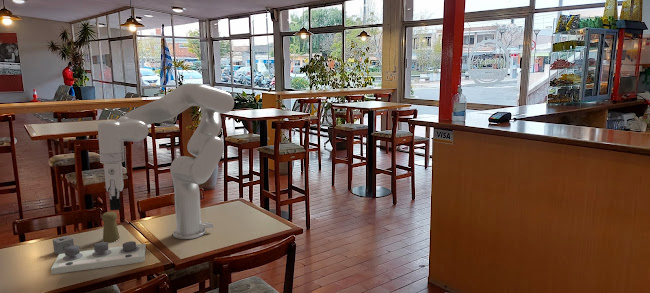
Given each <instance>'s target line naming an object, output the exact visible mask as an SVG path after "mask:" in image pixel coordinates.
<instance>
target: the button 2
mask: <svg viewBox="0 0 650 293" xmlns="http://www.w3.org/2000/svg"><path fill="white" fill-rule="evenodd" d="M136 245H137V242H136V241H131V240H130V241H126V242H124V243H122V246H123V251H125V252H129V251H133V250H135V249H136Z"/></svg>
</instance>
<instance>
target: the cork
mask: <svg viewBox="0 0 650 293" xmlns="http://www.w3.org/2000/svg"><path fill="white" fill-rule="evenodd" d="M117 217H118V215H117V213H116V212H115V211H107V212H104V213H103V214H102V215H101V220H102V222H103V231H102V242H103V241H104V242H109V243H115V242H117V241H116V240H118V239H119V238H120V239H121V237H120V232H119V228H118V226H117ZM120 239H119V240H120ZM119 240H118V241H119ZM114 241H115V242H114Z"/></svg>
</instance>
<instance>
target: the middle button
mask: <svg viewBox="0 0 650 293" xmlns="http://www.w3.org/2000/svg"><path fill="white" fill-rule="evenodd" d="M108 248H109V243H107V242H103V241H99V242H96V243H94V244H93V250H94V251H95V252H104V251H107V250H108Z"/></svg>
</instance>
